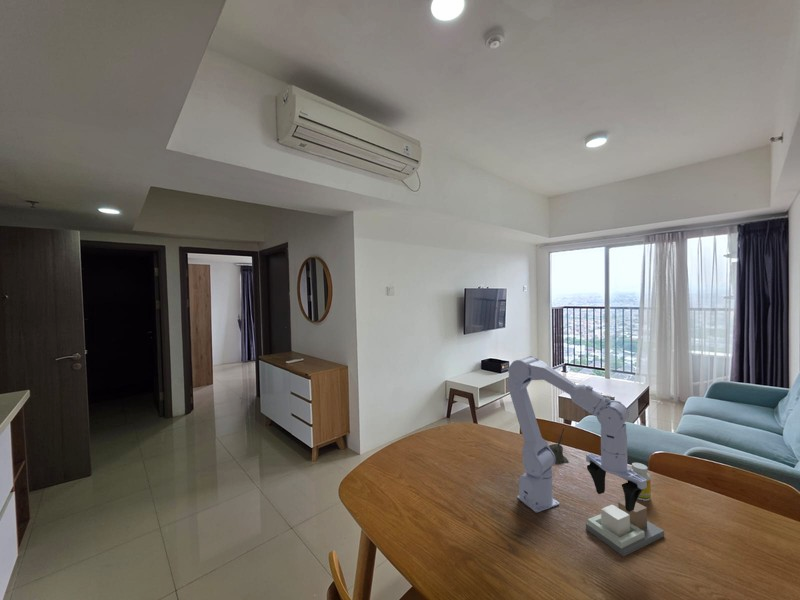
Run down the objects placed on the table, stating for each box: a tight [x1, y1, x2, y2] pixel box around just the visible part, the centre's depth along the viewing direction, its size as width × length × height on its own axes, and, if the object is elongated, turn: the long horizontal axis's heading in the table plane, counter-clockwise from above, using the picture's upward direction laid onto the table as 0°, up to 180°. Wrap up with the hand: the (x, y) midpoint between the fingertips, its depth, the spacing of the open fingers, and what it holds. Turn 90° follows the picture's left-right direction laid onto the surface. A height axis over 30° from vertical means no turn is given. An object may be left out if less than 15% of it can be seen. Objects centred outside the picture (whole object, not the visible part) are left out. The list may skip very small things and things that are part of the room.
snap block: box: [600, 504, 630, 538], centre depth 83 cm, size 4×4×5 cm
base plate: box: [585, 499, 665, 557], centre depth 84 cm, size 16×10×6 cm, turn 112°
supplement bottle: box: [631, 462, 652, 502], centre depth 99 cm, size 5×5×10 cm
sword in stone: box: [548, 427, 570, 464], centre depth 124 cm, size 10×8×12 cm
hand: (614, 501), depth 83 cm, fingers open, 7 cm apart
